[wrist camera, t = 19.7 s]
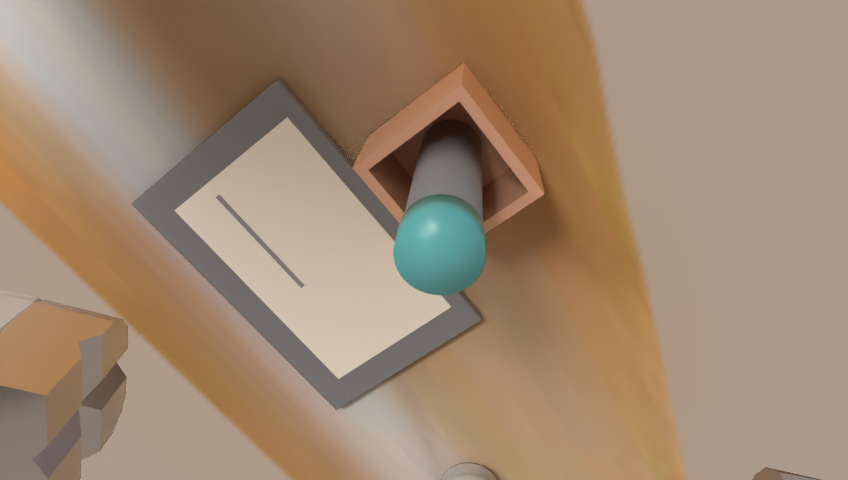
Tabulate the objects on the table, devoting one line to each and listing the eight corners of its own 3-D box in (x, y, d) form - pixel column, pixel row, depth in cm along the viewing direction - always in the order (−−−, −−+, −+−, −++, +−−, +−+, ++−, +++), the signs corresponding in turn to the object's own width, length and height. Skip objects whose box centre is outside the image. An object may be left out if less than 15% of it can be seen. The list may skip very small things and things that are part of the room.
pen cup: (368, 135, 42) (352, 167, 36) (464, 61, 39) (461, 84, 34) (441, 223, 44) (436, 266, 38) (536, 158, 41) (544, 194, 36)
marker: (419, 178, 42) (394, 294, 29) (419, 117, 40) (391, 211, 28) (482, 179, 42) (484, 296, 29) (484, 118, 40) (486, 213, 27)
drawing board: (135, 200, 45) (130, 204, 44) (279, 77, 40) (275, 80, 40) (337, 404, 50) (335, 411, 50) (481, 315, 46) (481, 321, 46)
